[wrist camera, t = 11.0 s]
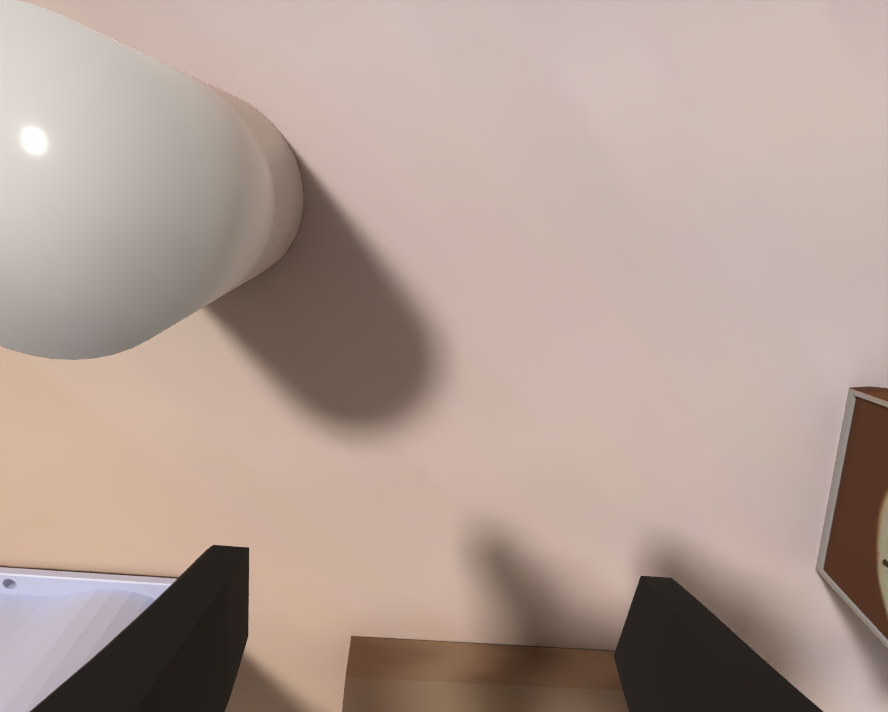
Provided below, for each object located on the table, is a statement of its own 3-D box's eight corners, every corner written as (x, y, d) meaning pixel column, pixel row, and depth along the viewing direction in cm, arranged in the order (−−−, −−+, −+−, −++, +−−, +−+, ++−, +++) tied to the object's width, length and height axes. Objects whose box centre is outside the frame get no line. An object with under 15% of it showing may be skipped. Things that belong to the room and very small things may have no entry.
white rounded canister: (121, 269, 17) (-117, 341, 9) (106, 72, 15) (-211, -40, 7) (300, 291, 17) (211, 375, 10) (308, 104, 15) (206, 31, 8)
